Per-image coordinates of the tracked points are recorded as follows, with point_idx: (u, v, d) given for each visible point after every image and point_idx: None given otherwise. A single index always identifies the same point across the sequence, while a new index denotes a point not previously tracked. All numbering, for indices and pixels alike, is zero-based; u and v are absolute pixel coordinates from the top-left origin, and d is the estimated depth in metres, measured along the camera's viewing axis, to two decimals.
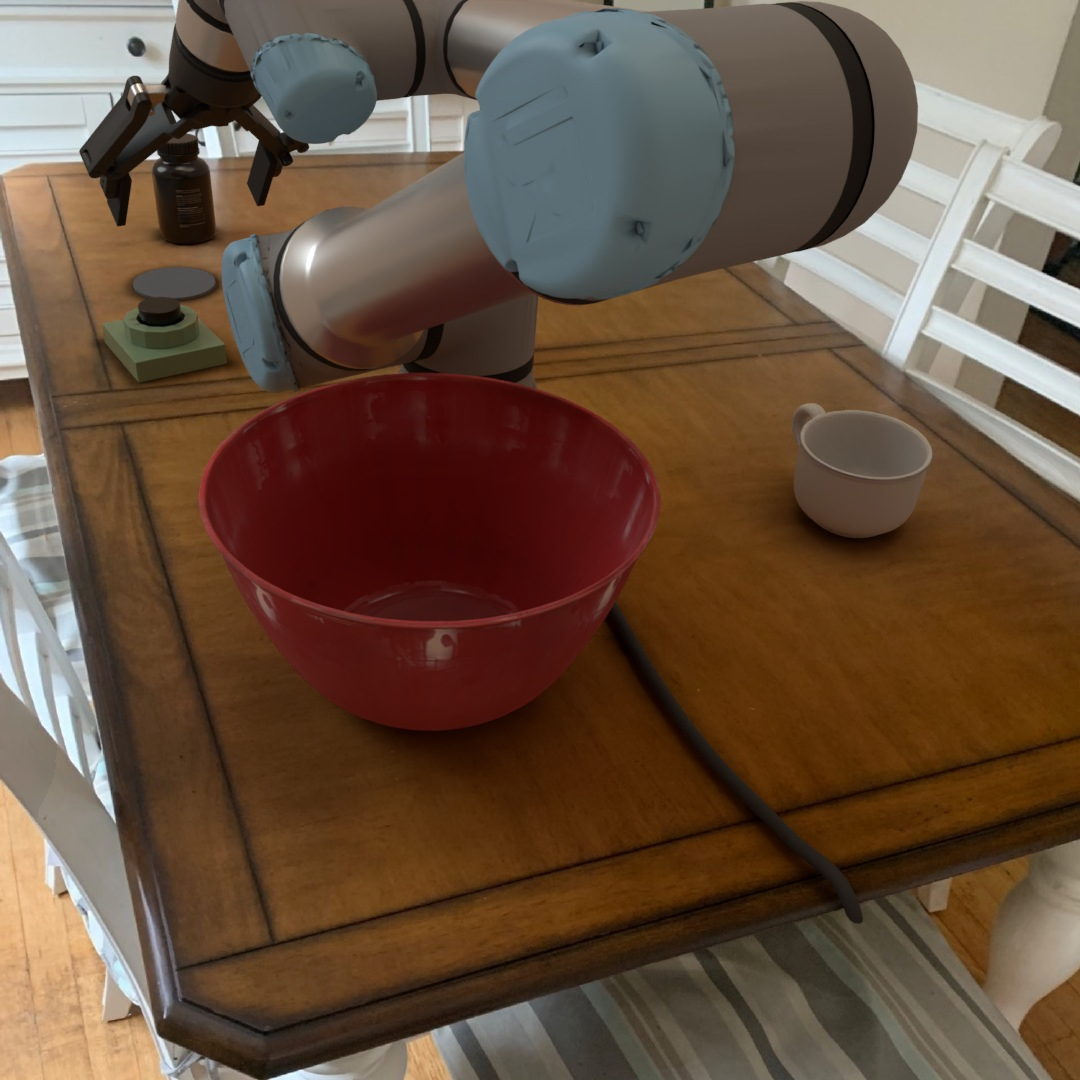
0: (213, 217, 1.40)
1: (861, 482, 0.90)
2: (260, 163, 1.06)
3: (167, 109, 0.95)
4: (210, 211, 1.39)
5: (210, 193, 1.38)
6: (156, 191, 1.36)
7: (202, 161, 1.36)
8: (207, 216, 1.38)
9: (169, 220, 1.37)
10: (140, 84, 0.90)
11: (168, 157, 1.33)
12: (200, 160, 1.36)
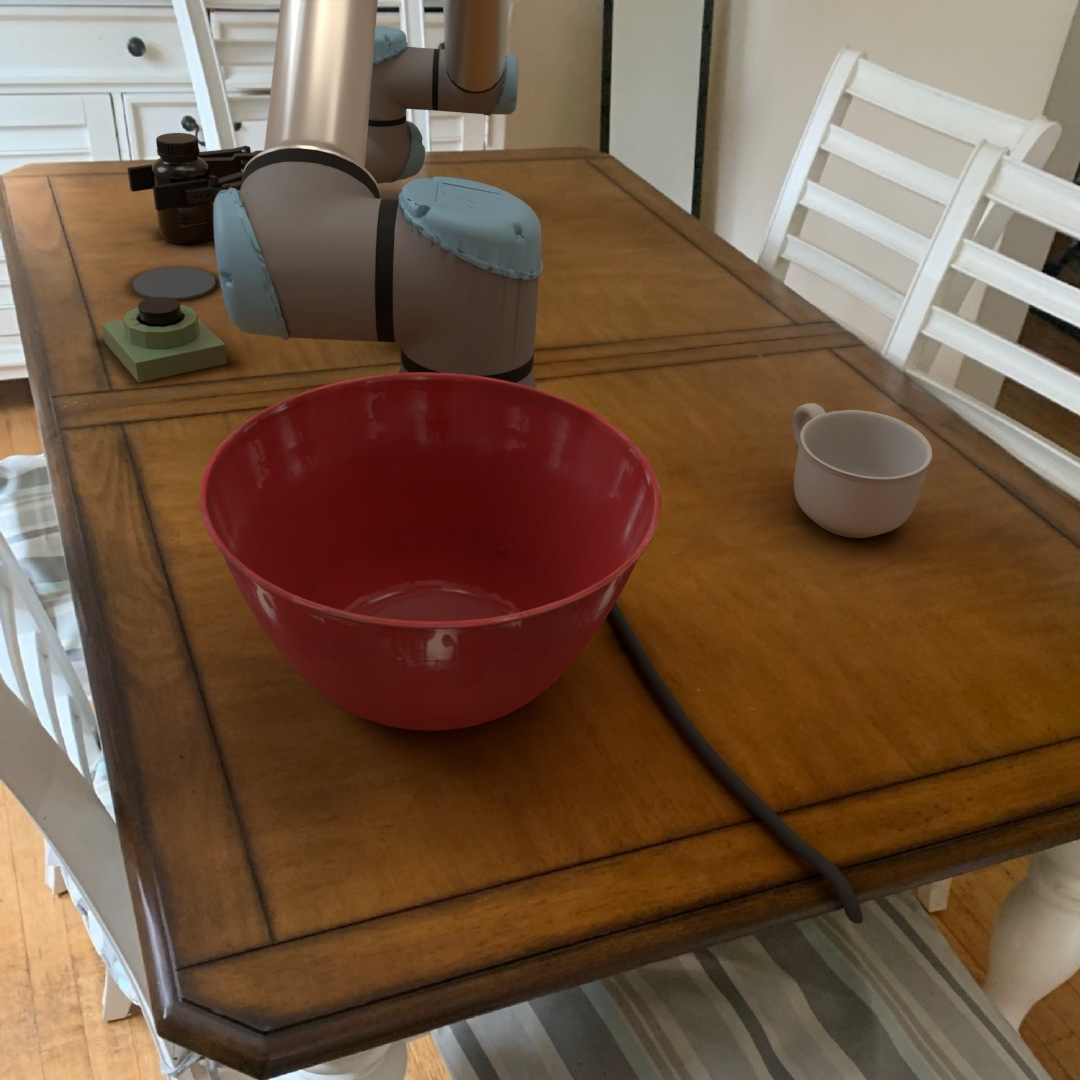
0: (213, 217, 1.40)
1: (861, 482, 0.90)
2: None
3: None
4: (211, 211, 1.39)
5: None
6: None
7: (202, 161, 1.36)
8: (207, 216, 1.38)
9: (169, 221, 1.37)
10: None
11: (168, 157, 1.33)
12: (200, 160, 1.36)
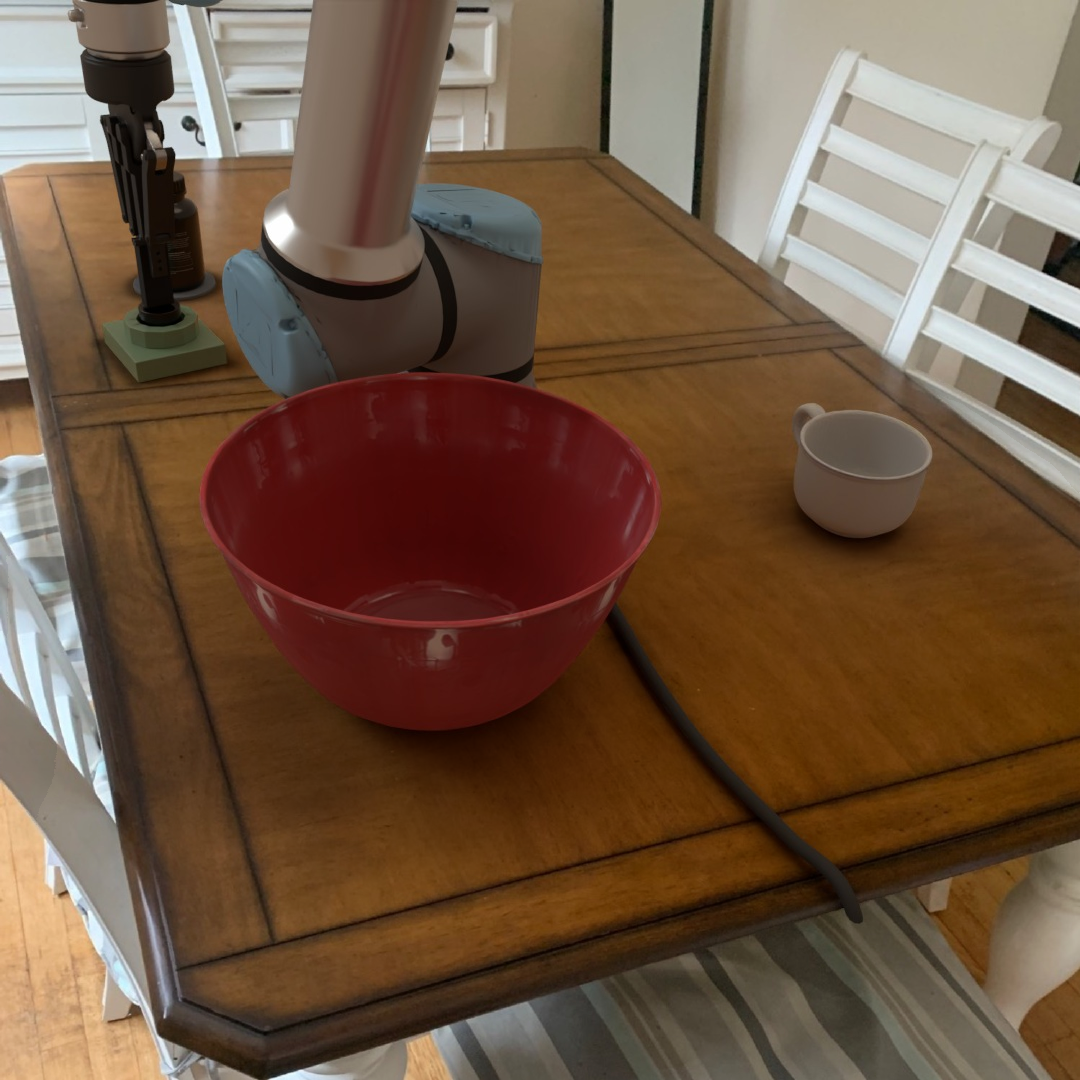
0: (202, 262, 1.27)
1: (861, 482, 0.90)
2: None
3: (135, 163, 1.02)
4: (199, 256, 1.26)
5: (198, 236, 1.25)
6: None
7: (189, 201, 1.23)
8: (195, 261, 1.25)
9: None
10: (155, 150, 0.98)
11: None
12: (187, 200, 1.23)
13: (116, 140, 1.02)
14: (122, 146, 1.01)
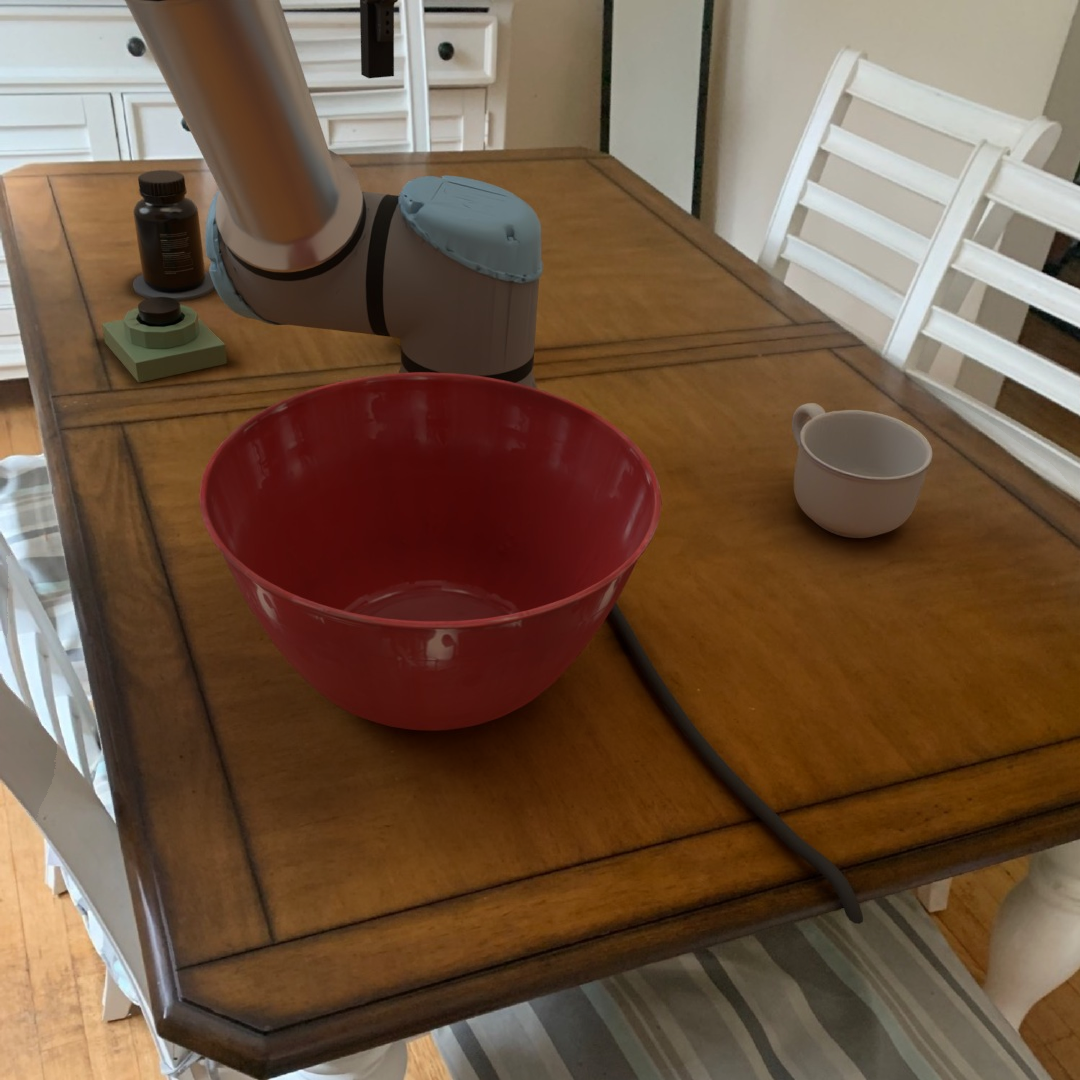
0: (202, 262, 1.27)
1: (861, 482, 0.90)
2: None
3: None
4: (199, 256, 1.26)
5: (198, 236, 1.25)
6: (138, 235, 1.23)
7: (189, 201, 1.23)
8: (195, 261, 1.25)
9: (153, 267, 1.24)
10: None
11: (151, 198, 1.21)
12: (187, 200, 1.23)
13: None
14: None
